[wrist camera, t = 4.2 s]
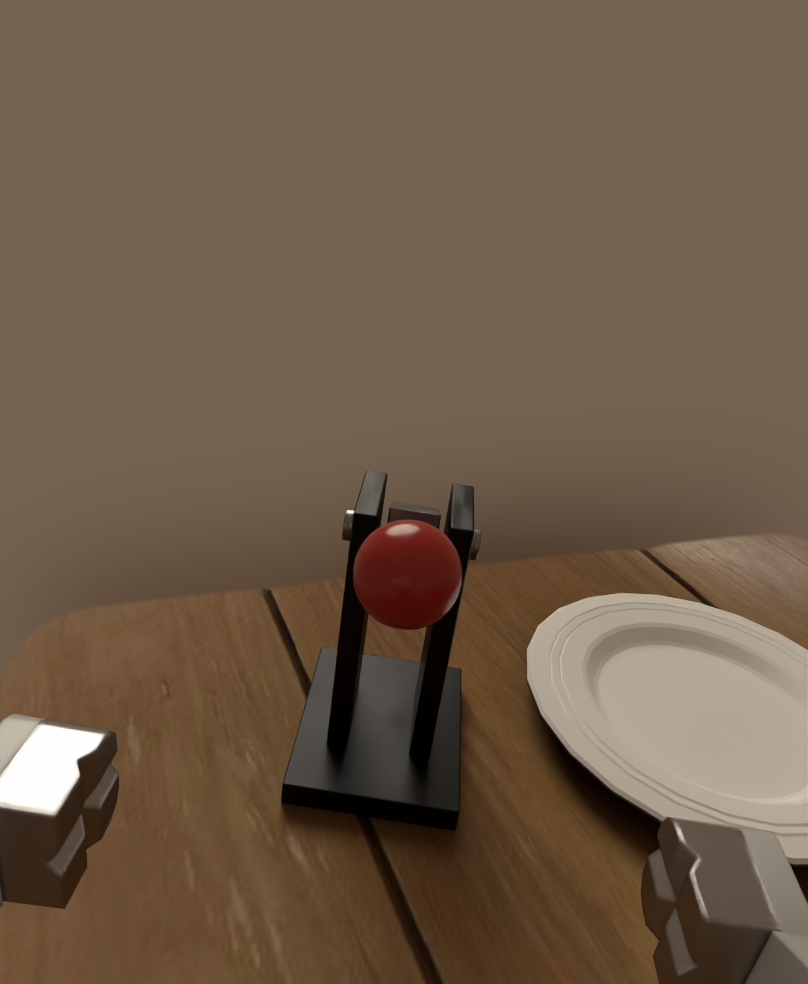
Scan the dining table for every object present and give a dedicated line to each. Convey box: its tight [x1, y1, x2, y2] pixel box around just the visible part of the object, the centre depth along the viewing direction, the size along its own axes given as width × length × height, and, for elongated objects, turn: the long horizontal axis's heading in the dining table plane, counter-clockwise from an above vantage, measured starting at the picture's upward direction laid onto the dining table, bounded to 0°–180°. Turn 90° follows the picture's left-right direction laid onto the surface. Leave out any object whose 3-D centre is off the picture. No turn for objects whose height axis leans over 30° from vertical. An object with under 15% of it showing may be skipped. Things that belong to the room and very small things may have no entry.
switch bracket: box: [281, 470, 481, 830], centre depth 36 cm, size 10×8×14 cm
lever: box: [353, 502, 462, 630], centre depth 28 cm, size 13×3×3 cm, turn 176°
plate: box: [527, 593, 808, 867], centre depth 42 cm, size 21×21×2 cm
